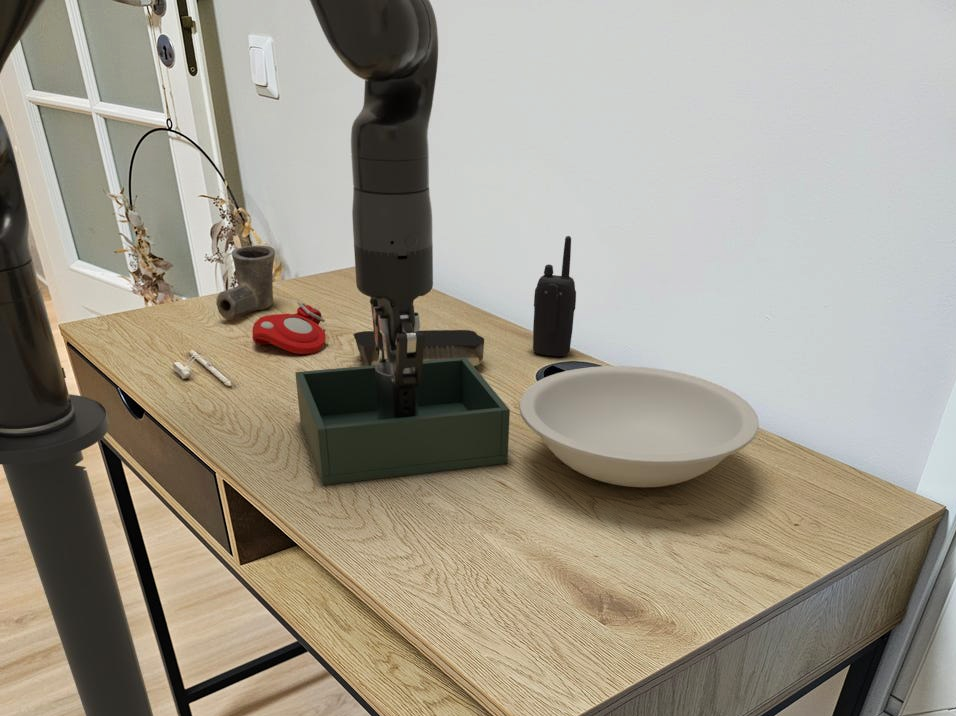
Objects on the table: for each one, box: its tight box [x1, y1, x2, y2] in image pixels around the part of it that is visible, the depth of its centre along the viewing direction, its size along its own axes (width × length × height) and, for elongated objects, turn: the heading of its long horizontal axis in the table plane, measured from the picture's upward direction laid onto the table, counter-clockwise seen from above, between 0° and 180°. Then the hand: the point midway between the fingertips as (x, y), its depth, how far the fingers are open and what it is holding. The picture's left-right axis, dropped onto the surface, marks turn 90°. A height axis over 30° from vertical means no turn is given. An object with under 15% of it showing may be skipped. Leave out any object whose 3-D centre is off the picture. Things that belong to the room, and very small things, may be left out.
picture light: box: [172, 349, 232, 387], centre depth 111 cm, size 14×4×2 cm, turn 34°
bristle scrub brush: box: [353, 329, 485, 367], centre depth 115 cm, size 16×8×4 cm, turn 98°
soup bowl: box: [518, 365, 760, 488], centre depth 91 cm, size 24×24×7 cm
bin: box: [295, 357, 511, 486], centre depth 95 cm, size 20×16×6 cm
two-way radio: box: [532, 235, 577, 358], centre depth 116 cm, size 6×4×15 cm
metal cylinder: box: [375, 362, 418, 420], centre depth 94 cm, size 4×4×6 cm
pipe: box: [215, 244, 276, 320], centre depth 130 cm, size 6×13×8 cm, turn 162°
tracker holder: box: [251, 300, 327, 355], centre depth 121 cm, size 12×4×10 cm
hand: (399, 408), depth 95 cm, fingers closed on metal cylinder, 4 cm apart
